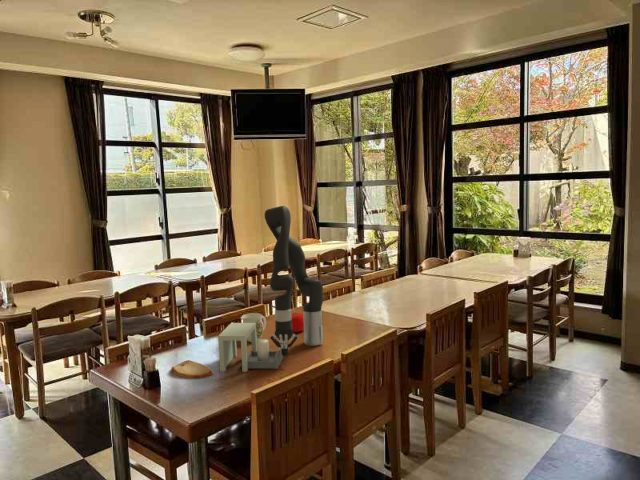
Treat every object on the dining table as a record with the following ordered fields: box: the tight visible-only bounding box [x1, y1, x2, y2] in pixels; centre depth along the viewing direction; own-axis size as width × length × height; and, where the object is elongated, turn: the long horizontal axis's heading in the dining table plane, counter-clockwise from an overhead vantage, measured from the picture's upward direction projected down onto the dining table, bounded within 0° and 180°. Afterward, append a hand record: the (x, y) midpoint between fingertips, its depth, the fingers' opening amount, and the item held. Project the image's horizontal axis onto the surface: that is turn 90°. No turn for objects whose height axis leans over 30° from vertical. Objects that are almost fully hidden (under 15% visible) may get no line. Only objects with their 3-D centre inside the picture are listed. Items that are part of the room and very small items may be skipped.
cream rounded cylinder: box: [257, 338, 270, 361], centre depth 219 cm, size 5×5×9 cm
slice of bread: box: [170, 359, 214, 380], centre depth 212 cm, size 18×18×4 cm
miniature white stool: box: [217, 322, 257, 373], centre depth 220 cm, size 12×20×16 cm, turn 174°
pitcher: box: [240, 312, 267, 343], centre depth 254 cm, size 11×18×14 cm, turn 144°
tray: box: [247, 347, 285, 370], centre depth 219 cm, size 16×15×6 cm
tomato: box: [292, 312, 304, 333], centre depth 267 cm, size 12×12×10 cm
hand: (285, 355), depth 218 cm, fingers closed
